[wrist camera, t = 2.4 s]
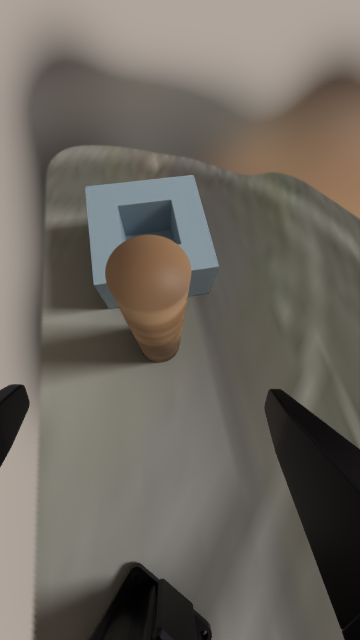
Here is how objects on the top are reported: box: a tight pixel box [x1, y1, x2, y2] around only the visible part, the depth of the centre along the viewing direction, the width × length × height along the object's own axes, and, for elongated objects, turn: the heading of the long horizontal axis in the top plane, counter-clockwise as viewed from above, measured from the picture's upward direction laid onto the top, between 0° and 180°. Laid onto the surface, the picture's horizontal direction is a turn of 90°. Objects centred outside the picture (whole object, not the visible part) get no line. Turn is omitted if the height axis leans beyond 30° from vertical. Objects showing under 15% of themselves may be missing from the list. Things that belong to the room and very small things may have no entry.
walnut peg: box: [105, 235, 191, 362], centre depth 16 cm, size 4×4×13 cm
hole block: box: [85, 175, 219, 309], centre depth 23 cm, size 10×10×5 cm
